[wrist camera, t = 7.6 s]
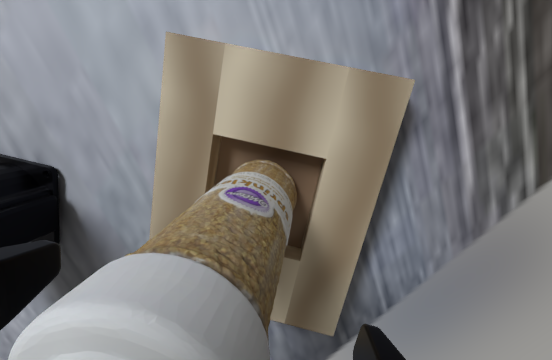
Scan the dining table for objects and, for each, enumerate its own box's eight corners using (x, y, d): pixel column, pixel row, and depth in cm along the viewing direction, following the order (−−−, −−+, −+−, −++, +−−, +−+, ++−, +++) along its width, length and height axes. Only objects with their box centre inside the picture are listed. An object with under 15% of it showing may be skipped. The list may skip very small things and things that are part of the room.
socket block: (161, 270, 20) (145, 286, 18) (183, 41, 16) (165, 31, 14) (330, 314, 19) (333, 336, 17) (401, 84, 15) (415, 79, 13)
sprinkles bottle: (301, 162, 16) (264, 350, 4) (292, 230, 18) (242, 558, 5) (228, 154, 17) (-41, 292, 4) (225, 221, 18) (9, 496, 5)
